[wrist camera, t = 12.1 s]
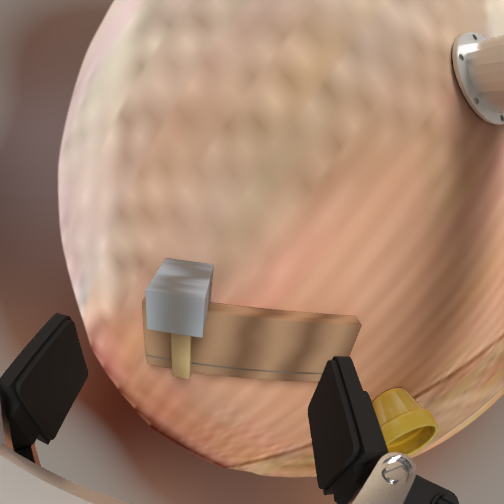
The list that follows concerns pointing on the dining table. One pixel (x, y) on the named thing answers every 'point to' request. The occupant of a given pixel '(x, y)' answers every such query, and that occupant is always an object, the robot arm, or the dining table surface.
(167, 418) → the dining table surface
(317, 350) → the board
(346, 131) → the dining table surface
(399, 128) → the dining table surface
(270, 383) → the dining table surface
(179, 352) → the wooden handled gray mallet
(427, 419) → the plant pot
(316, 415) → the robot arm
